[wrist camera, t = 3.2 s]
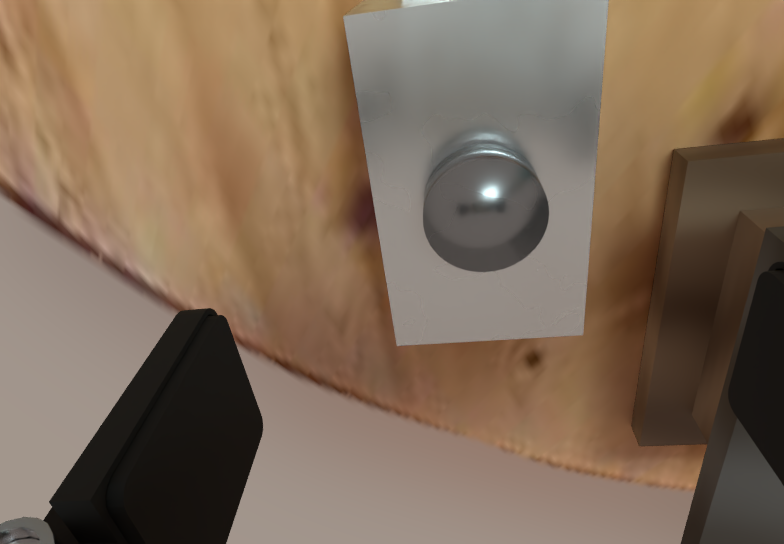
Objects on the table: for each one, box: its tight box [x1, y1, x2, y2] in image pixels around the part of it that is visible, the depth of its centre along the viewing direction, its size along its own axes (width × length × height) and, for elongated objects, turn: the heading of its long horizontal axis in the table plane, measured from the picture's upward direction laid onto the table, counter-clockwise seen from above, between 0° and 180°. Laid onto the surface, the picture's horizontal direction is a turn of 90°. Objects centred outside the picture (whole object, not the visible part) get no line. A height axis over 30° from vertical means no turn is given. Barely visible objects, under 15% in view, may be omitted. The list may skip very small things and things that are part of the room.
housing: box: [343, 0, 609, 346], centre depth 16 cm, size 12×6×6 cm, turn 7°
